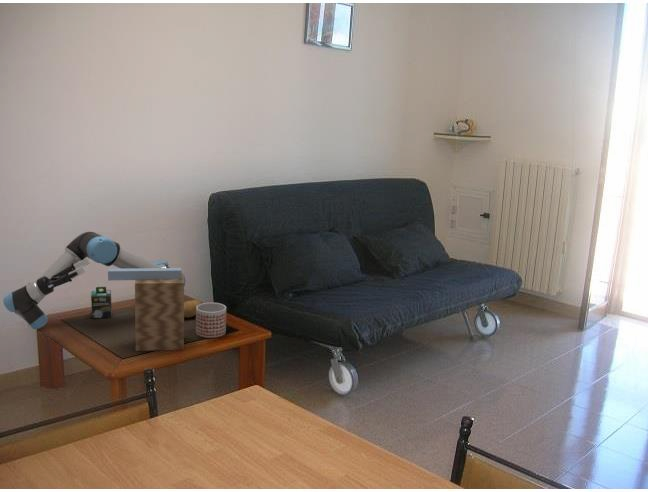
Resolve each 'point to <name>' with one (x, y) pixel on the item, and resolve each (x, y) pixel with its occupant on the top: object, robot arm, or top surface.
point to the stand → (159, 314)
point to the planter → (211, 320)
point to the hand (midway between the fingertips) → (86, 264)
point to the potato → (190, 308)
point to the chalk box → (101, 303)
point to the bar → (144, 274)
